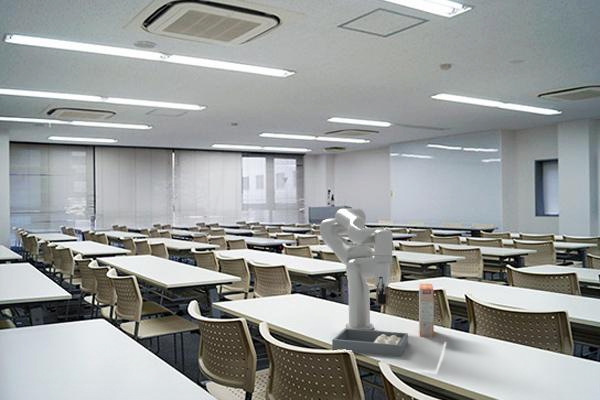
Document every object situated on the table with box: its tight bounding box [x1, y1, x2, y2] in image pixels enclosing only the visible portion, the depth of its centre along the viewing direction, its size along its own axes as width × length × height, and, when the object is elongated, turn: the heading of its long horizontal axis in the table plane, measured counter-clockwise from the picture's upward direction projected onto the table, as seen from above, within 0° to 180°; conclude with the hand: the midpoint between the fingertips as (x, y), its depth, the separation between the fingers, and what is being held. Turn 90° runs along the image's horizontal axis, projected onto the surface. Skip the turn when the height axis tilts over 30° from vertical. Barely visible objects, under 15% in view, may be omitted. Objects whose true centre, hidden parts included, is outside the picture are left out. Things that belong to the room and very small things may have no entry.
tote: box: [331, 328, 409, 358], centre depth 204 cm, size 18×26×5 cm
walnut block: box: [375, 286, 391, 307], centre depth 220 cm, size 5×5×7 cm
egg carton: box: [374, 334, 401, 345], centre depth 202 cm, size 11×9×4 cm
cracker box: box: [418, 283, 435, 339], centre depth 225 cm, size 14×6×21 cm, turn 168°
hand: (383, 301), depth 220 cm, fingers closed on walnut block, 5 cm apart
